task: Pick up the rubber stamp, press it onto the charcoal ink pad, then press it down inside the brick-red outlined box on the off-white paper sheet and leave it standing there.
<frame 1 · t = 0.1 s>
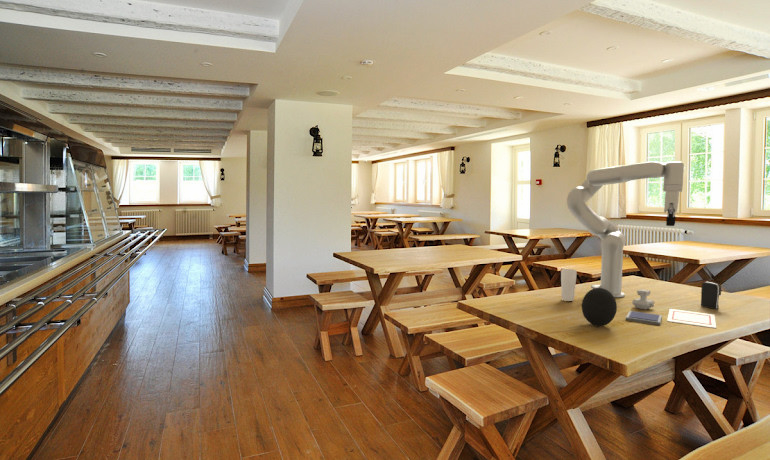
hand: (670, 225, 208), 37 cm above the table, tool pointing down, fingers open, 9 cm apart
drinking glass: (567, 301, 213), on the table
ink pad: (643, 319, 183), on the table
stamp: (642, 308, 200), on the table
paper sheet: (691, 318, 184), on the table
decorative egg: (598, 326, 175), on the table
battery charger: (710, 307, 202), on the table
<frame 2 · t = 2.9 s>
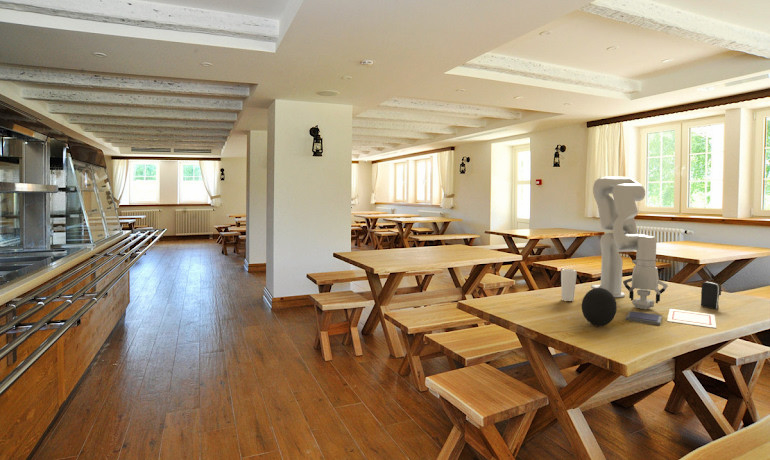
hand: (644, 301, 199), 3 cm above the table, tool pointing down, fingers open, 9 cm apart
stamp: (642, 308, 200), on the table, touching gripper
everything else where it was.
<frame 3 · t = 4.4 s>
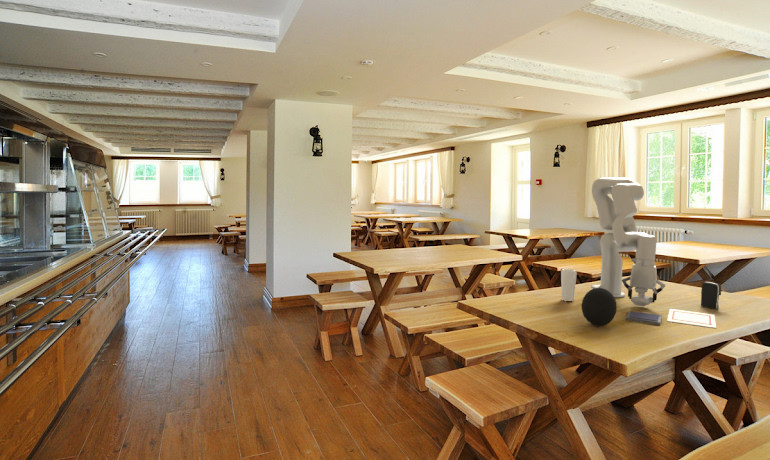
hand: (641, 299, 200), 4 cm above the table, tool pointing down, fingers closed on stamp, 8 cm apart
stamp: (641, 305, 201), point 1 cm above the table, touching gripper
everything else where it was.
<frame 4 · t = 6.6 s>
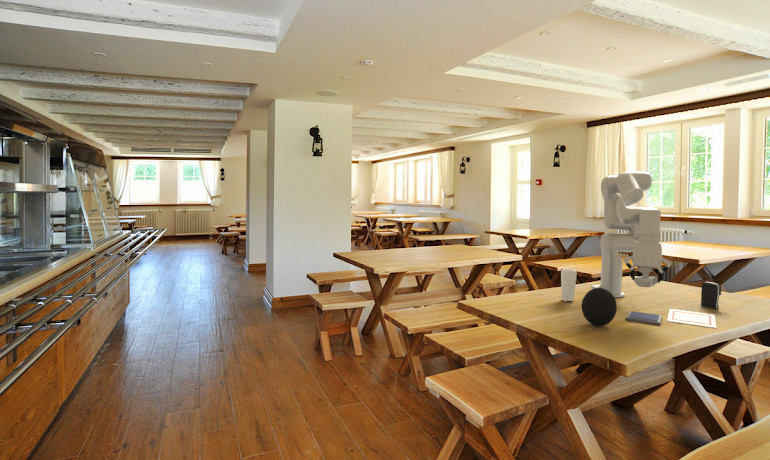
hand: (646, 280, 182), 16 cm above the table, tool pointing down, fingers closed on stamp, 8 cm apart
stamp: (646, 287, 182), point 13 cm above the table, touching gripper
everything else where it was.
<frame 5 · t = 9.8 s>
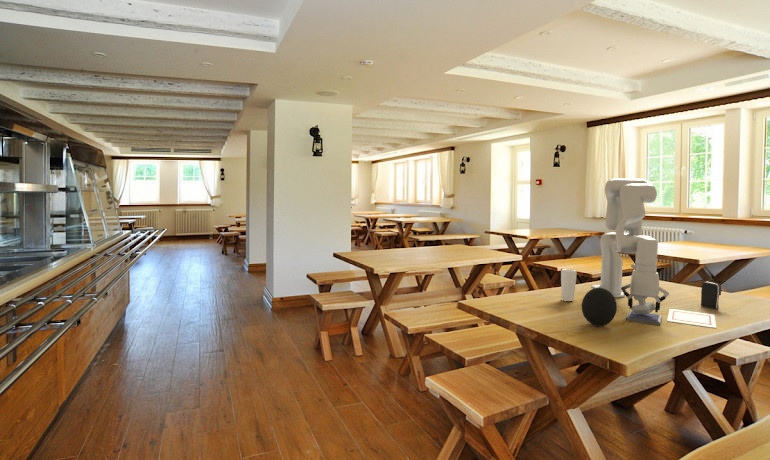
hand: (643, 309, 182), 4 cm above the table, tool pointing down, fingers closed on stamp, 8 cm apart
stamp: (645, 314, 183), point 2 cm above the table, touching gripper
everything else where it was.
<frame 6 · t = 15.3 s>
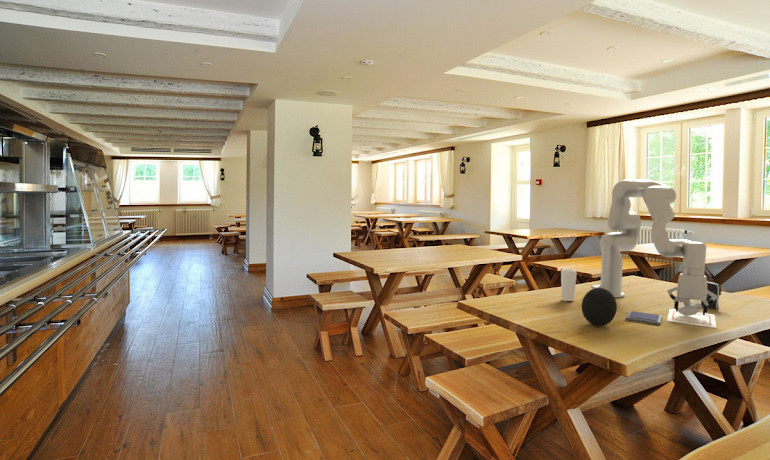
hand: (690, 312, 184), 2 cm above the table, tool pointing down, fingers closed on stamp, 8 cm apart
stamp: (692, 314, 185), point 1 cm above the table, touching gripper, paper sheet
everything else where it was.
when the fingers open (3 cm above the table, at t = 16.7 s): stamp stays where it is, resting on paper sheet.
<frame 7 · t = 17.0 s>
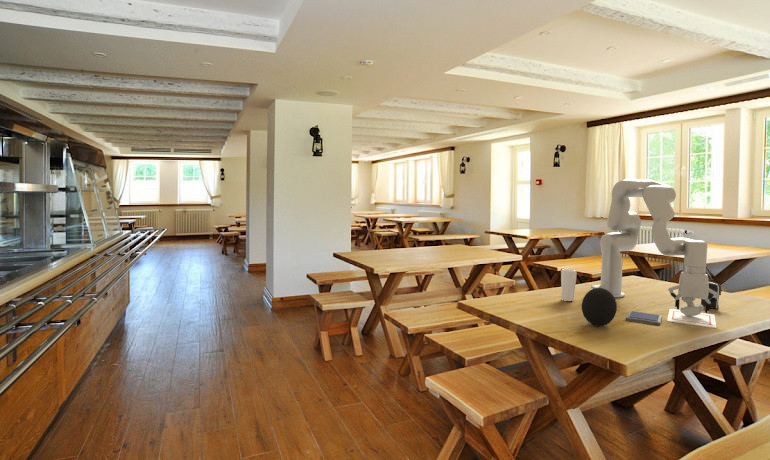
hand: (691, 310, 184), 3 cm above the table, tool pointing down, fingers open, 9 cm apart
stamp: (694, 315, 185), point 1 cm above the table, touching gripper, paper sheet
everything else where it was.
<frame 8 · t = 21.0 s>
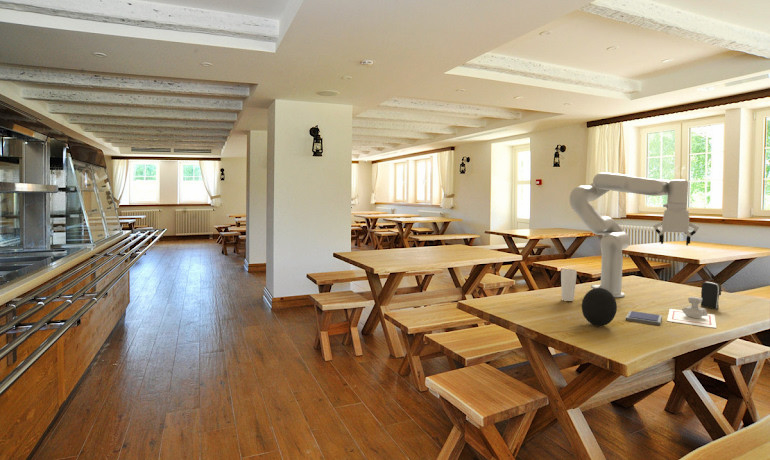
hand: (674, 244, 203), 28 cm above the table, tool pointing down, fingers open, 9 cm apart
stamp: (694, 317, 185), resting on paper sheet
everything else where it was.
at the end: stamp 1.6 cm off-centre on the paper sheet, point 0.1 cm above the paper sheet's base; stamp tilted 0°; the gripper is holding nothing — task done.
